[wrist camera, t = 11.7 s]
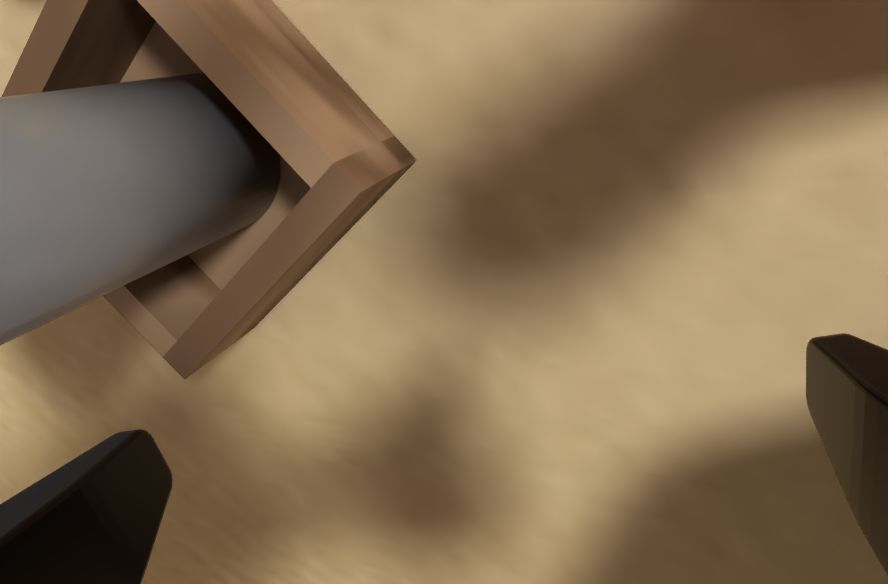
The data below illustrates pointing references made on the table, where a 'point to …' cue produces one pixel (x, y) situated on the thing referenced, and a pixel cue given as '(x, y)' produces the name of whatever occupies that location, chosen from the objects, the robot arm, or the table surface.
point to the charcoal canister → (118, 188)
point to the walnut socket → (268, 109)
